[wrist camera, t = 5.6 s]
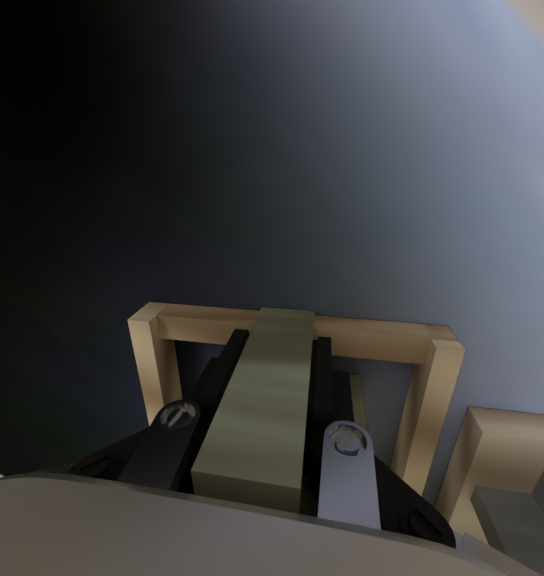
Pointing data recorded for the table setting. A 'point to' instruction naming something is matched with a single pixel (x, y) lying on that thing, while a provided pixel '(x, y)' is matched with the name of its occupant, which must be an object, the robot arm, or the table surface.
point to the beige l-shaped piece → (498, 483)
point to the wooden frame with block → (290, 393)
